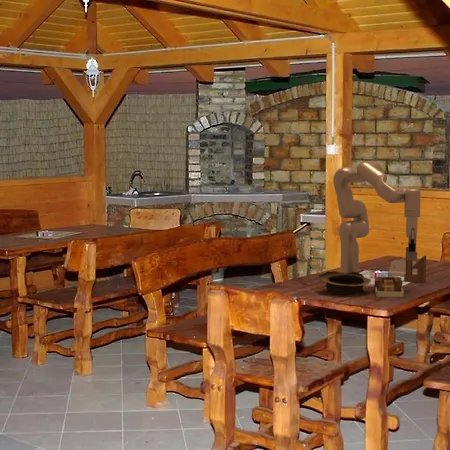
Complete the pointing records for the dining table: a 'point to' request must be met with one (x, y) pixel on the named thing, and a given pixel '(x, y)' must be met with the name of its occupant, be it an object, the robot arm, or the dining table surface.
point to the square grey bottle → (411, 254)
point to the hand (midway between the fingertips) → (411, 250)
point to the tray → (389, 293)
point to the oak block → (388, 283)
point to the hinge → (400, 268)
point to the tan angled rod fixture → (420, 270)
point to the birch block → (388, 288)
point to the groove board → (380, 280)
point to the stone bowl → (344, 282)
